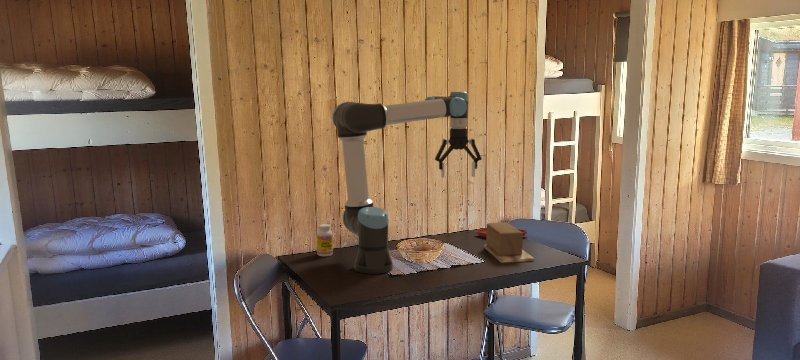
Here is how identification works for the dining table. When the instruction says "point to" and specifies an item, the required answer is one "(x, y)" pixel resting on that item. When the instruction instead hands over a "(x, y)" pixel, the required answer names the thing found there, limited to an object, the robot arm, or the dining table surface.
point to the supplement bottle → (324, 240)
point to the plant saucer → (484, 232)
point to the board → (517, 258)
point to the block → (504, 239)
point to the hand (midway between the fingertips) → (458, 176)
